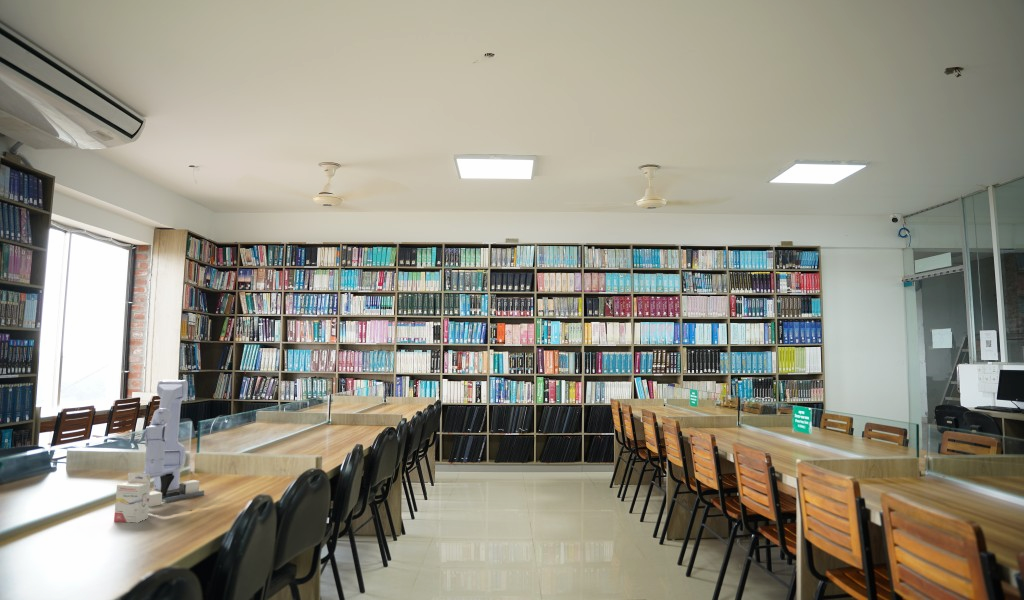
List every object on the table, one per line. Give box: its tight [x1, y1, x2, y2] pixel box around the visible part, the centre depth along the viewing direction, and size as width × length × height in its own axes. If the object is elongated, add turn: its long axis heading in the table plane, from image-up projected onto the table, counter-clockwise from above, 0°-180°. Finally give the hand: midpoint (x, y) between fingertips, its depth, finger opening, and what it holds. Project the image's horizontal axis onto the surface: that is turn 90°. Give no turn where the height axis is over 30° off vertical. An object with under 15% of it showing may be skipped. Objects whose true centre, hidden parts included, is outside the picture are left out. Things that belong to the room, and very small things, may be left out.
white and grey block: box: [178, 479, 201, 495], centre depth 219 cm, size 4×6×5 cm
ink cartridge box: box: [113, 472, 151, 524], centre depth 190 cm, size 9×5×15 cm, turn 84°
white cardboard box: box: [149, 490, 163, 507], centre depth 206 cm, size 4×6×5 cm
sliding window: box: [162, 490, 205, 504], centre depth 216 cm, size 9×14×2 cm, turn 149°
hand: (152, 498), depth 205 cm, fingers open, 7 cm apart
